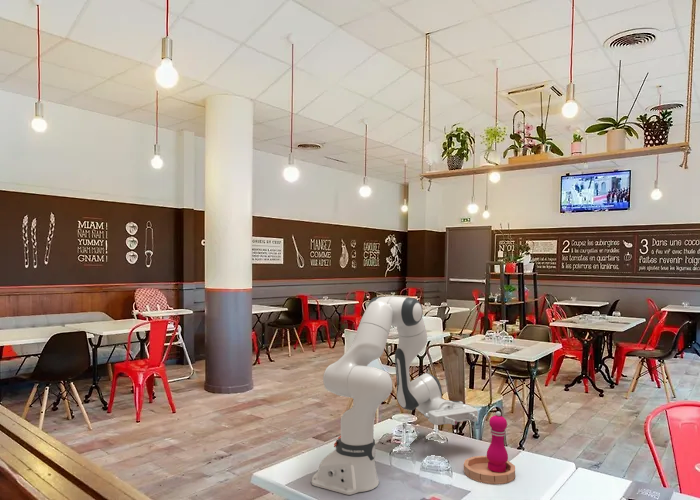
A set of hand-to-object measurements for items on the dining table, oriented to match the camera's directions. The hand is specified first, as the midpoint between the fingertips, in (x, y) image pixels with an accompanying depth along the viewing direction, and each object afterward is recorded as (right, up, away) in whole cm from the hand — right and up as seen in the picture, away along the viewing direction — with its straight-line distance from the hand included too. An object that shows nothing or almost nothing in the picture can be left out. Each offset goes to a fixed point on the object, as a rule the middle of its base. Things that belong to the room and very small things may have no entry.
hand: (465, 421), depth 181 cm
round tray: (+5, -14, -11) cm, 19 cm away
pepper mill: (+9, -14, -10) cm, 19 cm away
